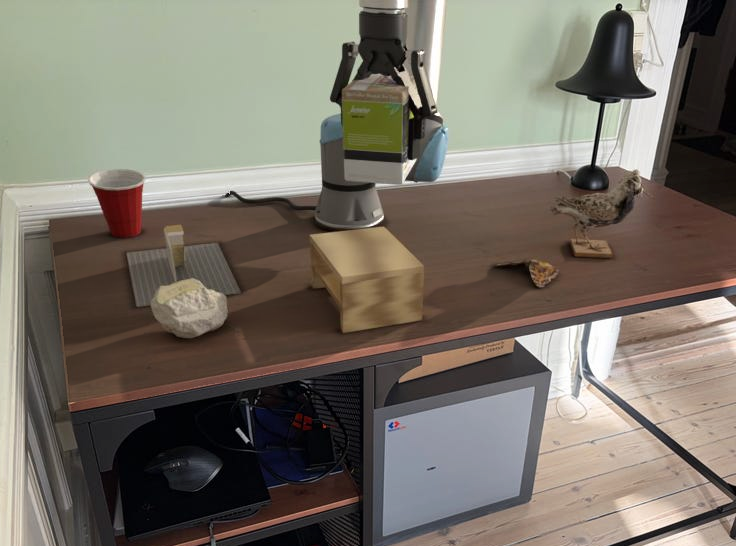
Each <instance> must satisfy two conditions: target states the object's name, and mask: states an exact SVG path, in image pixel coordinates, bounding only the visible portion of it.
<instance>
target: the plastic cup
mask: <svg viewBox="0 0 736 546" xmlns="http://www.w3.org/2000/svg"><path fill="white" fill-rule="evenodd" d="M146 179H147V178H146V175H145V174H144V173H142V172H140V171H138V170H135V169H129V168H109V169H104V170H99V171H96V172H94V173H92V174H90V175H89V176H88V178H87V181H88V183H89V185H90V186H91V187H92V190H93V191H94V193H95V196H96V198H97V200H98V203H99V206H100V209H101V212H102V214H103V217H104V219H105V221H106V223H107V226H108V229H109V231H110V233H111V235H112V236H113V237H116V238H132V237H135V236H137V235H139V234H140V233H141V232H142V216H143V192H144V184H145V181H146Z"/></svg>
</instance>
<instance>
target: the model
mask: <svg viewBox="0 0 736 546" xmlns="http://www.w3.org/2000/svg"><path fill="white" fill-rule="evenodd" d="M163 235H164V241H165V248H164V249H166V255H167V262H168V265H169V268H170V271H171V275H172V278H173V280H174V281H177V280H178V279H177V272H176V267H180V266H183V267H184V266H185V261H186V260H187V257H186V249H185V242H184V236H183V235H185V232H184V228H183V226H182V224H175V225H174V224H173V225H166V226H164V228H163Z"/></svg>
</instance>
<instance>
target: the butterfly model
mask: <svg viewBox="0 0 736 546" xmlns="http://www.w3.org/2000/svg"><path fill="white" fill-rule="evenodd" d="M522 263H523V264H524V263H525V268H527V269H528V273H530V277H531V279H532V281H533V283H534V285H535V286H536V287H537V288H544V287H545V285H547V284H549V283H551V279H552V280H553V279H555V278H556V276H557V275H559V273H560V271H559V270H558V267H557V266H554V265H551V264H550V263H549V262H548V261H546V262H545V261H543V262H542V261H541V260H540V259H535V258H526V259H525V260H521V261H513V262H509V263H506V262H505V263H497V264H495V266H506V265H512V264H513V265H516V264H522Z"/></svg>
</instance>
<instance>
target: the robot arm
mask: <svg viewBox="0 0 736 546" xmlns="http://www.w3.org/2000/svg"><path fill="white" fill-rule="evenodd" d="M447 4H448V0H358V6H359V7H360V8H362V10H360V12H359V13H358V35H359V38H360V40H359V43H356V42H355V41H348V42H343V43H342V44H341V59H340V63H339V66H338V69H337V73H336V76H335V79H334V83H333V86H332V89H331V93H330V95H329V101H330V102H331V103H335V104H337V105H338V106H339V108H340V113H337V114H332V115H330V116H327V117H326V118H325V119H323V120H322V121H321V124H320V134H319V135H320V137H319V138H320V139H319V145H320V167H321V168H320V169H321V171H320V172H321V190H320V193H319V197H318V200H317V204H316V205H296V204H294V203H293V201H291V200H289V199H288V198H286V197H281V196H280V197H278V196H277V197H276V196H274V197H264V198H257V199H256V198H255V199H253V198H252V199H251V198H250V199H249V198H245V197H243V196H241V195H240V194H239V193H238V192H236V191H235V190H229V191H230V194H229V193H227V192H226V193H225V195H224V197H225V198H226V197H227V198H229V197H231V196H233V197H235V198H236V199H237V200H238V201H240V202H241V203H244V204H249V205H258V204H264V203H273V202H281V203H285V204H287V205H288V206H289V207H290V208H291V209H293V210H295V211H314V223H315V224H316V226H318V227H319V228H320V229H323V230H326V231H329V232H339V231H348V230H357V229H367V228H376V227H382V226H383V224H384V220H385V219H384V218H385V216H384V215H385V214H384V210H383V207H382V204H381V200H380V197H379V194H378V191H377V188H376V187H377V186H376V184H377V183H368V182H354V181H346V180H345V175H344V146H343V114H342V89H343V88H345V87H346V86H347V85H348V84H350V79H351V76H352V73H353V71H354V67H355V64H356V59H357V57H358V56H360V58H361V59H362V61H361V63H360V66H359V67H358V68H357V70H356V74H355V75H354V77H353V79H352V80H351V82H352V81H353V80H363V79H366V78H369V77H370V75H372V74H382V75H384V76H391V77H392V79H393V80H394V81H395V82H396V84H397V85H401V86H405V87H407V86H409V90H408V94H409V108H410V110H411V112H412V114H413V116H414V117H413V118H411V119H409V152H408V160H414V159H416V162H415V163H414V165H413V167H412V168H411V170H410V172H409V173H408V175H407V177H406V179H405V180H404V182H405V181H406V182H413V183H433V182H435V181H437V180H438V179H439V177H440V175H441V174H442V171H443V168H444V165H445V162H446V161H445V160H446V156H447V151H448V147H449V139H450V129H449V126H446V125H444V117H443V116H442V114H441V113H440V112H439V110H438V101H439V90H440V79H441V71H442V70H441V69H442V59H443V47H444V36H445V26H446V15H447V14H446V13H447ZM409 76H413V77H414V80H415V83H416V87H417V92H416V90H415V88H414V86H413V84H412V82H411V80H410V78H409Z"/></svg>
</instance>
